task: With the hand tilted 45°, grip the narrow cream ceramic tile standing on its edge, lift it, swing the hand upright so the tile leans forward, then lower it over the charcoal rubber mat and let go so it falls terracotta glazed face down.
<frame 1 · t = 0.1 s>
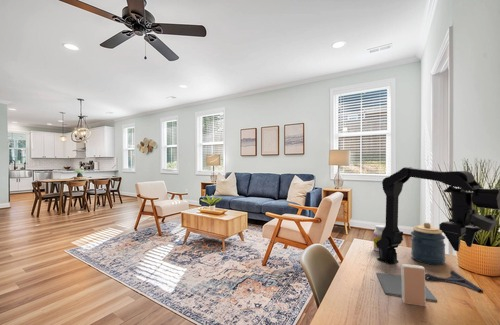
hand: (462, 248, 83), 15 cm above the table, tool pointing down, fingers open, 9 cm apart
bracket: (445, 282, 90), on the table
tile: (413, 302, 75), on the table
mat: (403, 286, 86), on the table
canister: (427, 260, 109), on the table
supplement bottle: (380, 250, 122), on the table
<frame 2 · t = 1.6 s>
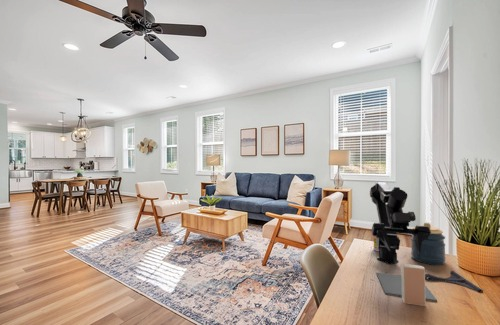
hand: (404, 252, 84), 14 cm above the table, tool tilted 45°, fingers open, 9 cm apart
nothing on the table moved.
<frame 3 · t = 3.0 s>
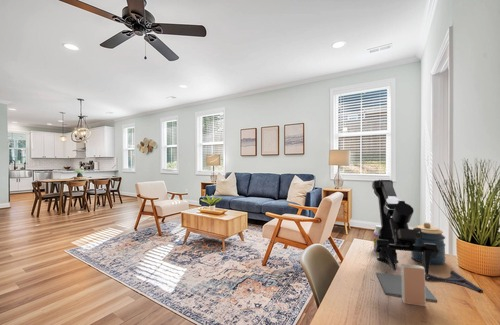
hand: (411, 272, 77), 9 cm above the table, tool tilted 45°, fingers open, 9 cm apart
nothing on the table moved.
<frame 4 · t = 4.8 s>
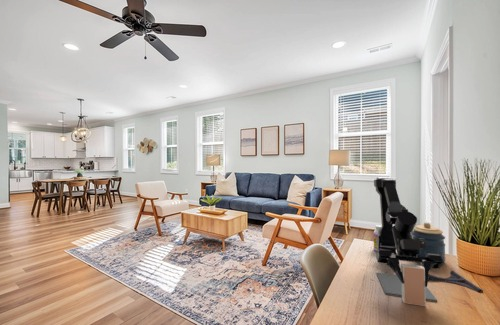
hand: (414, 284, 74), 7 cm above the table, tool tilted 45°, fingers closed on tile, 6 cm apart
tile: (413, 302, 75), on the table, touching gripper
everything else where it was.
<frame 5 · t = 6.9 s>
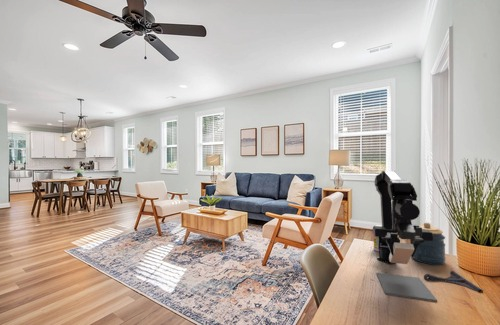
hand: (401, 256, 87), 11 cm above the table, tool pointing down, fingers closed on tile, 6 cm apart
tile: (397, 260, 92), point 7 cm above the table, tilted 44°, touching gripper
everything else where it was.
when the fingers open (6 cm above the table, at t = 9.1 s): tile moves 1 cm and tips over, resting on mat.
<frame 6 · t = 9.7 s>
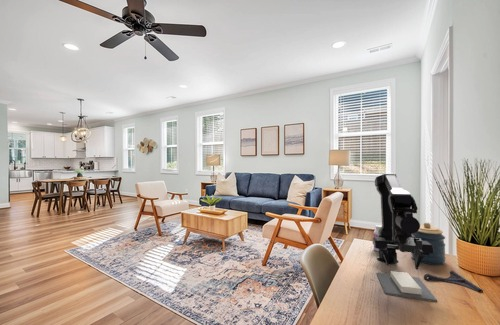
hand: (402, 267, 87), 6 cm above the table, tool pointing down, fingers open, 9 cm apart
tile: (399, 274, 91), point 2 cm above the table, tilted 90°, touching mat
everything else where it was.
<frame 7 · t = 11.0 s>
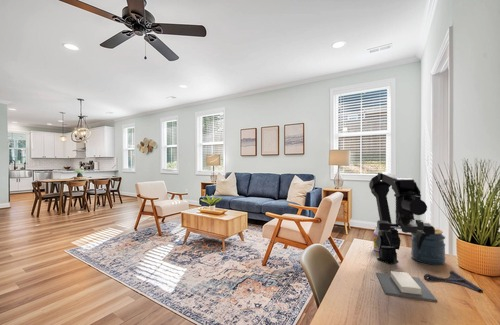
hand: (404, 248, 92), 12 cm above the table, tool pointing down, fingers open, 9 cm apart
nothing on the table moved.
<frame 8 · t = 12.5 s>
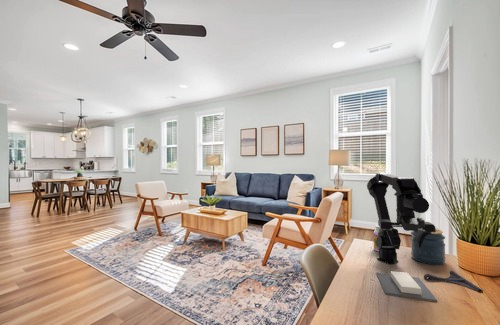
hand: (405, 246, 93), 12 cm above the table, tool pointing down, fingers open, 9 cm apart
nothing on the table moved.
at the end: tile tilted 90°; tile touching mat; the gripper is holding nothing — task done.
